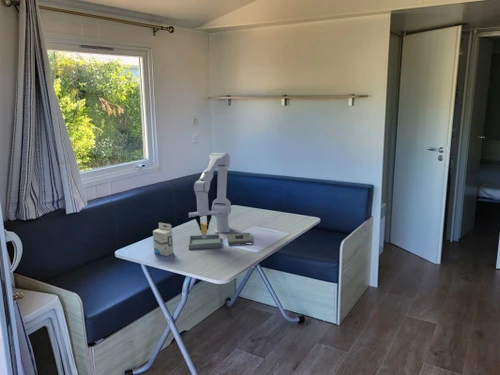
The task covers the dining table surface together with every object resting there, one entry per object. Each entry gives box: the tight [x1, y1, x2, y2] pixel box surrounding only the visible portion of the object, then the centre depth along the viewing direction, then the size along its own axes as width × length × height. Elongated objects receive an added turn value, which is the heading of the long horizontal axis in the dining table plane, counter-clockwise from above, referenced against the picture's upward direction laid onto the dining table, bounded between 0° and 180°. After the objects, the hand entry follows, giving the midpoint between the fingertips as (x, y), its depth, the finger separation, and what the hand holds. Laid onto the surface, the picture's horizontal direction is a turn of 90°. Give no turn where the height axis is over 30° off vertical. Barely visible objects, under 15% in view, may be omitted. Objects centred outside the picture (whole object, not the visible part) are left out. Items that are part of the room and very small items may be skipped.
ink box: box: [152, 222, 174, 257], centre depth 214 cm, size 8×5×15 cm, turn 60°
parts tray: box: [188, 233, 222, 250], centre depth 227 cm, size 14×16×2 cm
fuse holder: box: [226, 232, 253, 246], centre depth 230 cm, size 12×12×2 cm
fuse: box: [200, 222, 208, 239], centre depth 225 cm, size 4×3×7 cm
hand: (204, 229), depth 226 cm, fingers closed on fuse, 3 cm apart
